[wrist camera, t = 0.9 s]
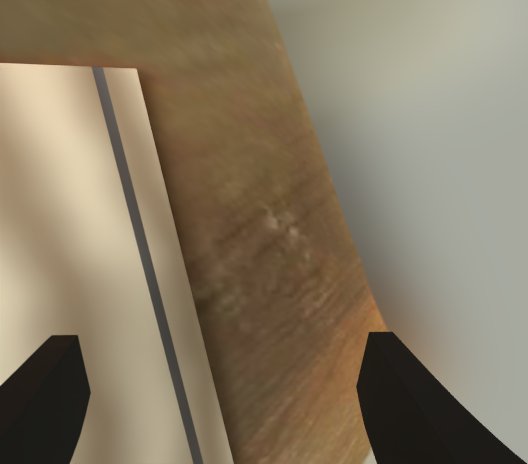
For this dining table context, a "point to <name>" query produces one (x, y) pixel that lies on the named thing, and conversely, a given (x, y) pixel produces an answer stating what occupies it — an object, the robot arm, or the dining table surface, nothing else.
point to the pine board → (101, 264)
